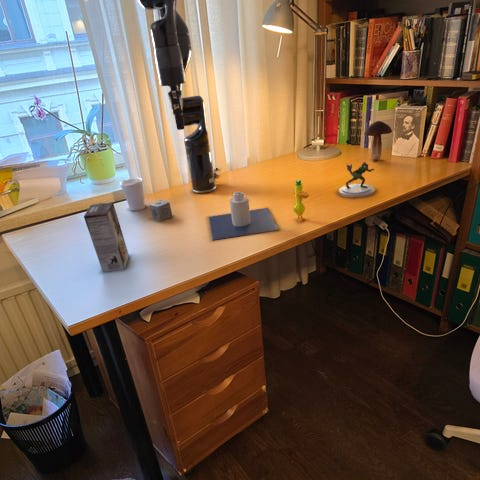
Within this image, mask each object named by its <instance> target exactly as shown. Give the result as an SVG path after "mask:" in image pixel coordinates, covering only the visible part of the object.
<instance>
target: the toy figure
mask: <svg viewBox="0 0 480 480" xmlns="http://www.w3.org/2000/svg"><path fill="white" fill-rule="evenodd" d="M294 191H295V192H294V195H295V200H296V204H295V203H294V204H293V205H294V206H293V207H294V208H293V209H292V210H293V212H294V213H295V214H296V216H297V221H298V222H303V221H306V219H305V217H303V215H304V213H305V211H306V208H305V205H304V203H303V199H308V198H309V196H310V193H308V192H306V191H304V190H303V183H302V180H301V179H298V180H295V184H294Z"/></svg>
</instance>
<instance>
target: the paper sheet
mask: <svg viewBox="0 0 480 480" xmlns="http://www.w3.org/2000/svg"><path fill="white" fill-rule="evenodd" d="M249 210H250V220H251V222H250V224H248V225H246V226H234V225H233V222H232V215H231V213H225V214H220V215H218V214H217V215H211V216H208V220H209V226H210V231H211V237H212V241H217V240H225V239H230V238H237V237H244V236H251V235H258V234H263V233H270V232H276V231H280V228H279V227H278V224H277V223H276V221H275V219H274V218H273V215H272V214H271V212H270V210H269V208H268V207H264V208H258V209H249Z"/></svg>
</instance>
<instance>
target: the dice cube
mask: <svg viewBox="0 0 480 480" xmlns="http://www.w3.org/2000/svg"><path fill="white" fill-rule="evenodd" d="M148 205H149V210H150V213H151V218H152V219H153V220H156V221H159V222H162V221H165V220H167V219H169V218H172V217H173V213H172V212H173V211H172V207H171V202H170V201H167V200H162V199H160V200H158V201H155V202H152V203H150V204H148Z"/></svg>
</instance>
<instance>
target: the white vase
mask: <svg viewBox="0 0 480 480" xmlns="http://www.w3.org/2000/svg"><path fill="white" fill-rule="evenodd" d="M232 197H233V198H230V200H229V206H230V214H231V215H232V222H233V225H234V226H246V225H248V224H250V222H251V220H250V210H251V209H250V202H249V201H250V200H249V197H247V196H245V193H244V192H243V191H235V192H233V193H232Z"/></svg>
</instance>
